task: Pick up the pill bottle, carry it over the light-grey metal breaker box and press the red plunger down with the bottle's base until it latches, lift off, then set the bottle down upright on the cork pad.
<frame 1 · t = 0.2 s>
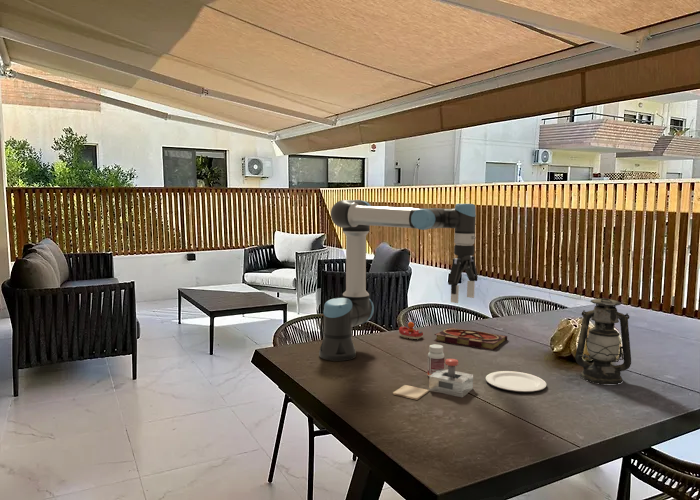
hand: (462, 300, 199), 27 cm above the table, fingers open, 13 cm apart
plunger: (451, 369, 179), point 7 cm above the table, slide at 0.0 cm
pill bottle: (435, 376, 194), on the table
lantern: (602, 381, 191), on the table
breaker box: (450, 389, 180), on the table
book: (470, 341, 244), on the table
toy boat: (410, 337, 248), on the table
plate: (515, 385, 186), on the table
cork pad: (410, 393, 176), on the table
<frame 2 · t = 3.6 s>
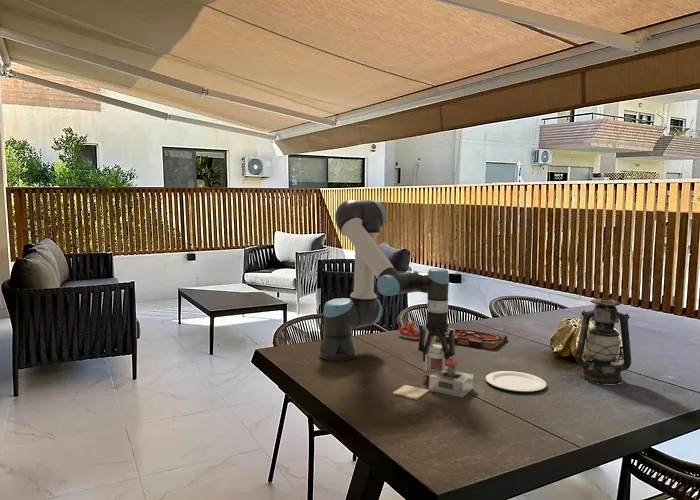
hand: (435, 372, 194), 1 cm above the table, fingers closed on pill bottle, 6 cm apart
pill bottle: (435, 376, 194), on the table, touching gripper
everything else where it was.
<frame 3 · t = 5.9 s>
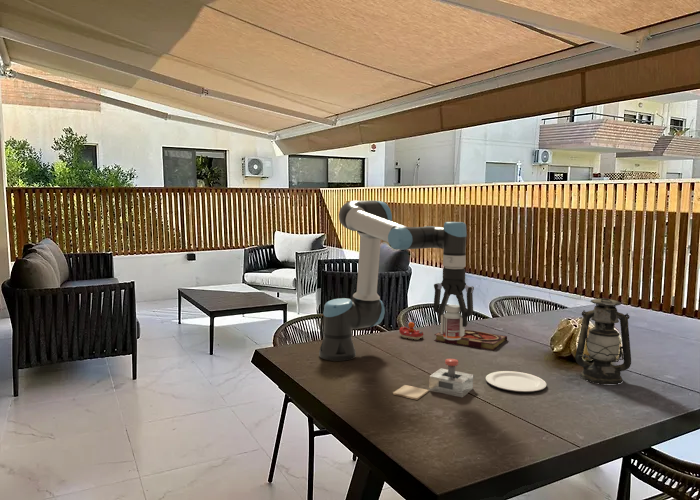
hand: (452, 334, 179), 19 cm above the table, fingers closed on pill bottle, 6 cm apart
pill bottle: (452, 338, 179), point 18 cm above the table, touching gripper
everything else where it was.
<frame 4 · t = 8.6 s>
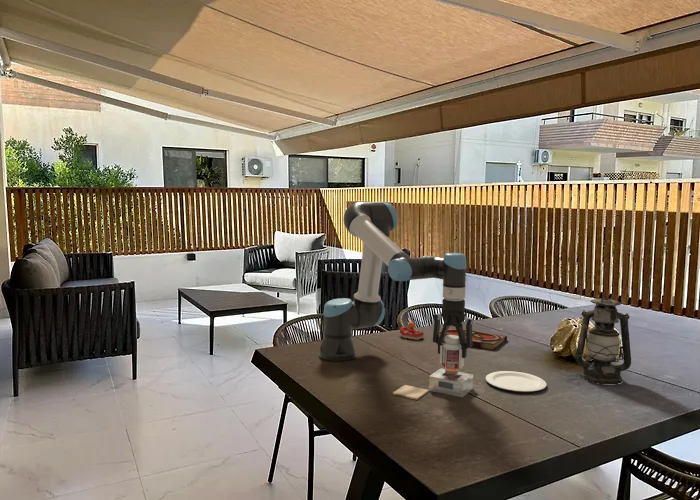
hand: (451, 364, 179), 9 cm above the table, fingers closed on pill bottle, 6 cm apart
plunger: (451, 377, 180), point 4 cm above the table, slide at 3.0 cm, touching pill bottle
pill bottle: (451, 369, 179), point 7 cm above the table, touching gripper, plunger
everything else where it was.
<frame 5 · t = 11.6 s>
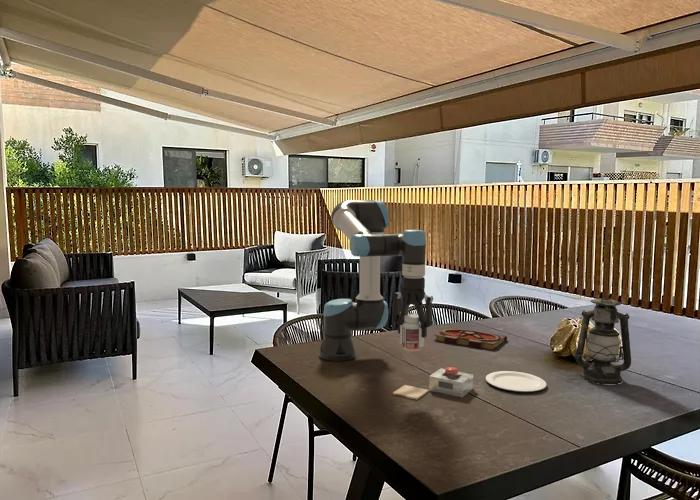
hand: (411, 344, 174), 17 cm above the table, fingers closed on pill bottle, 6 cm apart
plunger: (451, 377, 180), point 4 cm above the table, slide at 3.0 cm
pill bottle: (411, 349, 175), point 15 cm above the table, touching gripper
everything else where it was.
when the fingers open (3 cm above the table, at t = 14.2 s): pill bottle stays where it is, resting on cork pad.
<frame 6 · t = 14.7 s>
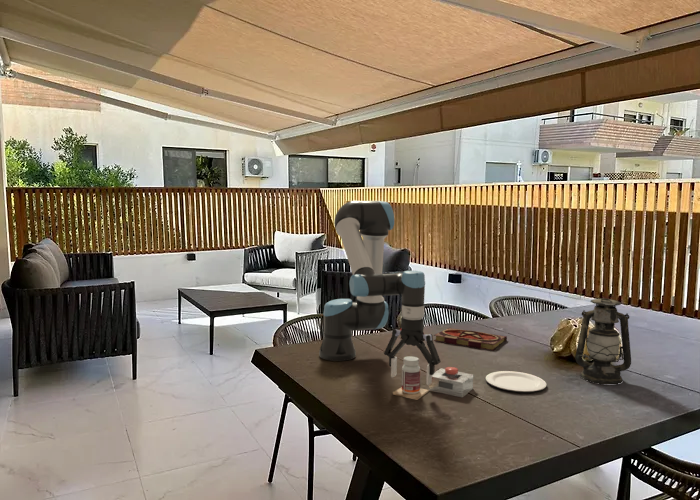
hand: (411, 380, 176), 5 cm above the table, fingers open, 12 cm apart
pill bottle: (410, 391, 176), resting on cork pad
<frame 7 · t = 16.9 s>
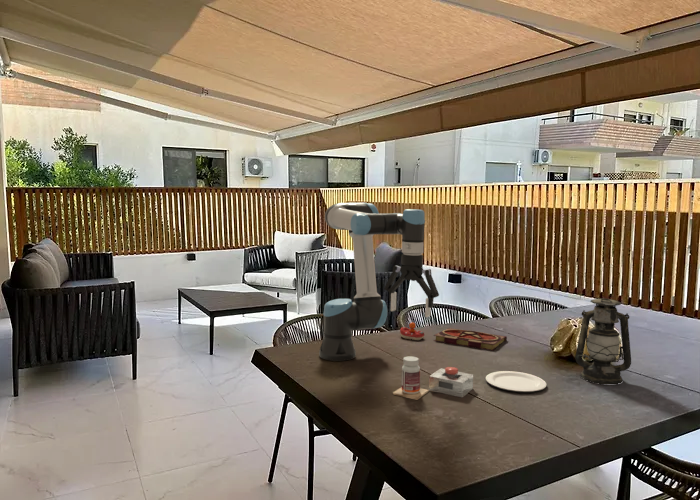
hand: (410, 313, 184), 25 cm above the table, fingers open, 13 cm apart
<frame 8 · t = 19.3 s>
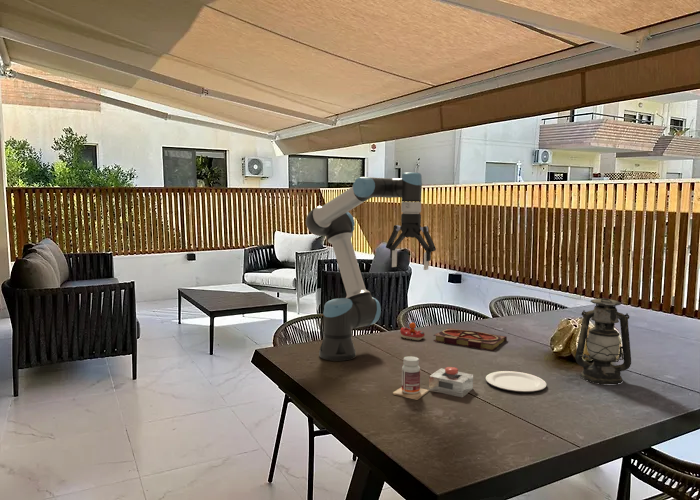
hand: (409, 268, 202), 39 cm above the table, fingers open, 13 cm apart
at the end: plunger slide at 3.0 cm; pill bottle 0.1 cm from the cork pad (horizontally); pill bottle tilted 0° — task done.
